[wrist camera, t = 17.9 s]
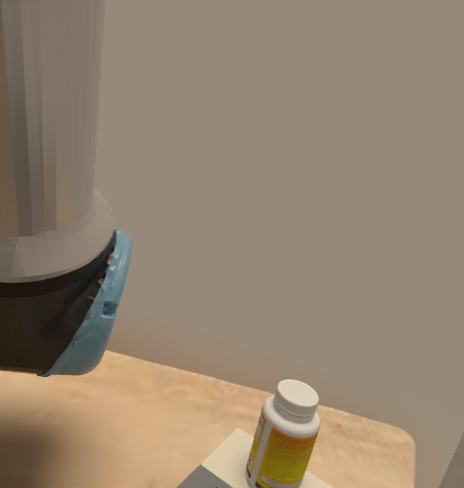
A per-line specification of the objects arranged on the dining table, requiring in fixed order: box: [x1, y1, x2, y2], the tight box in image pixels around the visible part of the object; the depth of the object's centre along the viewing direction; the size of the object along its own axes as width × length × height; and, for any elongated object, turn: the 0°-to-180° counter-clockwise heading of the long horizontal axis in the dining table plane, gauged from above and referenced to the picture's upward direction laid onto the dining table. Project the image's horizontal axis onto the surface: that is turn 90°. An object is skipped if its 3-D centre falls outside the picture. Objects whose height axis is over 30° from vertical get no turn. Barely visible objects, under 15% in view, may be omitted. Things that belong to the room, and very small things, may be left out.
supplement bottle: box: [246, 380, 320, 488], centre depth 36 cm, size 5×5×10 cm
